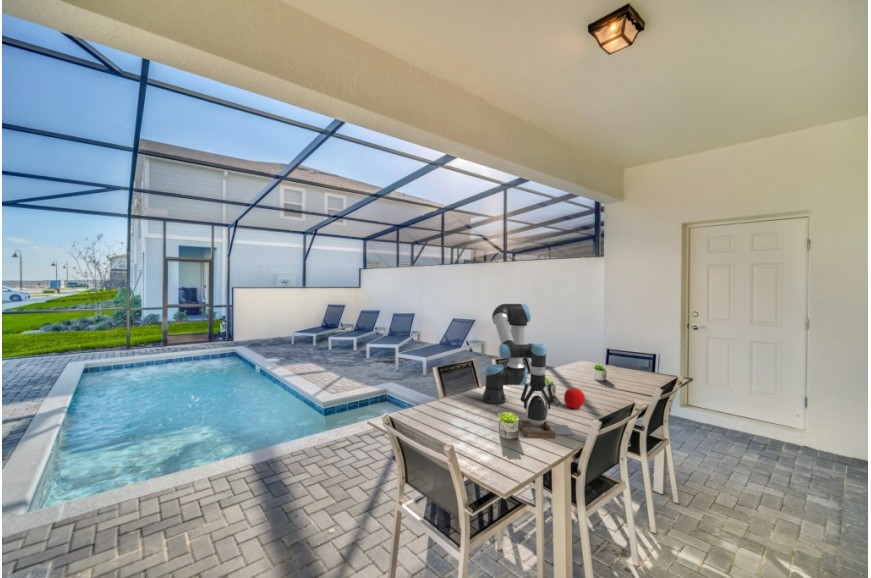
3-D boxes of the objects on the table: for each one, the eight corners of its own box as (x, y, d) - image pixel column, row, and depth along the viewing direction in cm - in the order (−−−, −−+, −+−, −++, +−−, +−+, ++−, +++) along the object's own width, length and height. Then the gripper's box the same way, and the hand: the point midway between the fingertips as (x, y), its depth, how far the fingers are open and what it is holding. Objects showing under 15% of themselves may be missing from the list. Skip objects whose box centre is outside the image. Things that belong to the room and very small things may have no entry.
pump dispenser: (532, 428, 195) (533, 399, 194) (523, 420, 205) (523, 393, 204) (550, 426, 198) (551, 398, 197) (539, 418, 208) (540, 391, 207)
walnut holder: (518, 425, 209) (518, 420, 209) (546, 425, 209) (546, 420, 209) (525, 437, 193) (525, 432, 193) (555, 438, 193) (555, 432, 193)
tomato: (563, 409, 235) (564, 389, 234) (563, 403, 246) (564, 384, 245) (585, 412, 231) (585, 391, 230) (584, 405, 242) (584, 386, 241)
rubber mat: (546, 425, 209) (546, 424, 209) (566, 426, 209) (566, 425, 209) (553, 435, 197) (553, 434, 197) (574, 435, 197) (574, 434, 197)
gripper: (518, 375, 196) (517, 417, 197) (561, 375, 196) (560, 417, 197) (515, 371, 203) (514, 411, 205) (556, 372, 204) (555, 412, 205)
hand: (536, 414), depth 201 cm, fingers closed on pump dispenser, 10 cm apart
